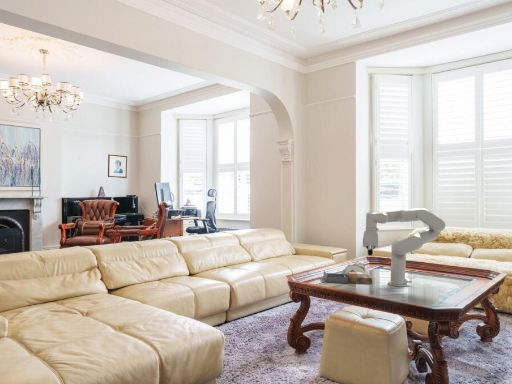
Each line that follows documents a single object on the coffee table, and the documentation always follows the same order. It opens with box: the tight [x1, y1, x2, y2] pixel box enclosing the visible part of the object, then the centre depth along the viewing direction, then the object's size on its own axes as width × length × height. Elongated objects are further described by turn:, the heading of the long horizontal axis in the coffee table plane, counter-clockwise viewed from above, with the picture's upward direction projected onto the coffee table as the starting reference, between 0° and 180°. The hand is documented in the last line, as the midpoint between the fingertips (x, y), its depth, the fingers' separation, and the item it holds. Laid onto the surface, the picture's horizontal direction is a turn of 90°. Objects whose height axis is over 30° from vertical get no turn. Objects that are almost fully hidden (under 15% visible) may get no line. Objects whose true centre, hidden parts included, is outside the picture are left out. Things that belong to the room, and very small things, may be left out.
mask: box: [340, 261, 369, 277], centre depth 300 cm, size 20×9×30 cm
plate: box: [345, 274, 373, 285], centre depth 272 cm, size 16×12×4 cm
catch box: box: [323, 270, 349, 284], centre depth 272 cm, size 15×14×5 cm
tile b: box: [348, 271, 356, 277], centre depth 272 cm, size 4×6×2 cm
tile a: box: [355, 272, 364, 277], centre depth 272 cm, size 4×6×2 cm
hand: (370, 255), depth 272 cm, fingers closed
